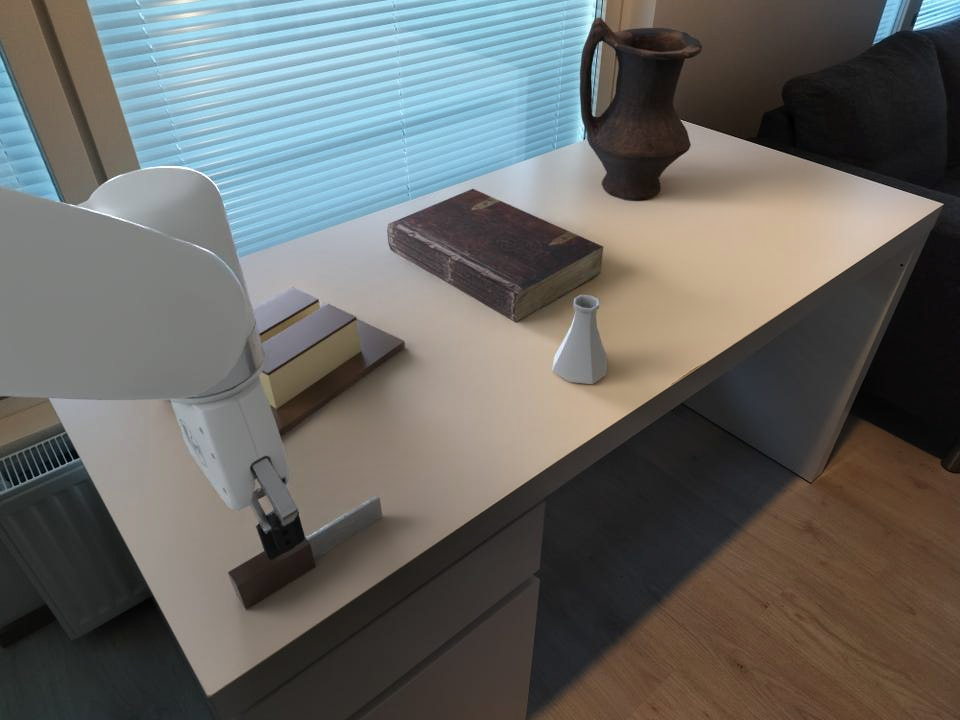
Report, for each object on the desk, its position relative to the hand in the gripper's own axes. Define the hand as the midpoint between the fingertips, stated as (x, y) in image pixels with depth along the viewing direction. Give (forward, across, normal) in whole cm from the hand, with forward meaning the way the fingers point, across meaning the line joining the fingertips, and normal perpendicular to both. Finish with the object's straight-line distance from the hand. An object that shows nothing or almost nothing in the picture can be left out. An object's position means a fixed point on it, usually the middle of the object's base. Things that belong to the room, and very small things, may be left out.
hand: (258, 511), depth 58 cm
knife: (+9, 0, +4) cm, 10 cm away
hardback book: (+11, -31, +53) cm, 62 cm away
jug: (+11, -36, +91) cm, 98 cm away
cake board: (+10, -28, +16) cm, 33 cm away
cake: (+10, -28, +16) cm, 33 cm away
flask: (+10, -3, +44) cm, 45 cm away
